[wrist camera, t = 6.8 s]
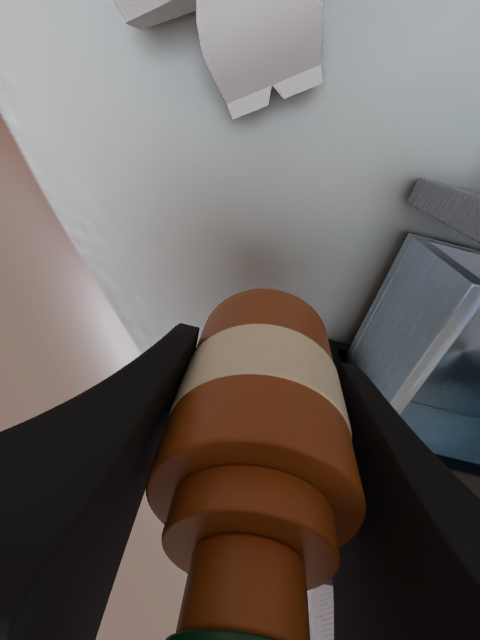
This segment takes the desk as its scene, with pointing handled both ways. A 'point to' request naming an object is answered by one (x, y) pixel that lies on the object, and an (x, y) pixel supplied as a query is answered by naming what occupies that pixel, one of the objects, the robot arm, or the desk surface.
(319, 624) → the syrup box
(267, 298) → the bottle
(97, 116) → the desk surface
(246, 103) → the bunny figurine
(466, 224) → the drawer
